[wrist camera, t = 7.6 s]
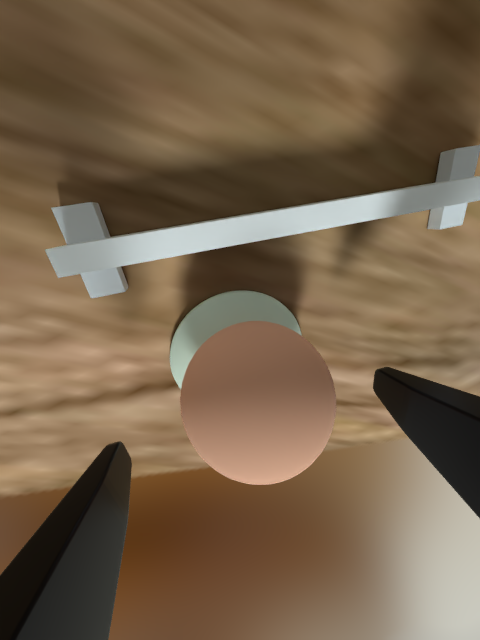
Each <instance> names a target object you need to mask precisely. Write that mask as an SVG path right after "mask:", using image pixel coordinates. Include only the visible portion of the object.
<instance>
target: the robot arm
mask: <svg viewBox="0 0 480 640" xmlns="http://www.w3.org/2000/svg"><path fill="white" fill-rule="evenodd" d="M373 389H374V392H375V393H376V395H377V396H378V398H379V399H380V400H381V402H382V403H383V404H384V406H385V407H386V409H387V410H388V411H389V413H390V414H391V415H392V417H393V418H394V419H395V421H396V422H397V424H398V425H399V426H400V427H401V429H402V430H403V431H404V432H405V434H406V435H407V436H408V437H409V438H410V439H411V441H412V442H413V443H414V444H415V445H416V446H417V447H418V449H419V450H420V451H421V452H422V453H423V454H424V455H425V456H426V458H427V459H428V460H429V461H430V462H431V463H432V465H433V466H434V467H435V468H436V469H437V470H438V471H439V473H440V474H441V475H442V476H443V477H444V478H445V479H446V480H447V482H448V483H449V484H450V485H451V486H452V487H453V488H454V489H455V491H456V492H457V493H458V494H459V495H460V496H461V498H463V500H464V501H465V502H466V503H467V504H468V506H470V508H471V509H472V510H473V511H474V512H475V513H476V515H477V516H478V517H479V518H480V397H479V396H476V395H473V394H470V393H467V392H464V391H461V390H458V389H454V388H451V387H448V386H445V385H442V384H439V383H436V382H433V381H430V380H427V379H424V378H420V377H417V376H414V375H411V374H408V373H405V372H402V371H399V370H396V369H393V368H390V367H384V368H380V369H377V370H376V371H375V375H374V383H373ZM131 467H132V463H131V458H130V456H129V454H128V452H127V450H126V448H125V446H124V444H123V443H122V442H115V443H112V444H109V445H107V446H106V447H105V448H104V449H103V450H102V451H101V453H100V454H99V455H98V456H97V458H96V459H95V460H94V461H93V462H92V464H91V465H90V466H89V467H88V469H87V470H86V471H85V472H84V473H83V475H82V476H81V477H80V478H79V480H78V481H77V482H76V483H75V484H74V486H73V487H72V488H71V489H70V491H69V492H68V493H67V494H66V495H65V497H64V498H63V499H62V500H61V502H60V503H59V504H58V505H57V507H56V508H55V509H54V510H53V511H52V513H51V514H50V515H49V516H48V517H47V519H46V520H45V521H44V523H43V524H42V525H41V526H40V527H39V528H38V530H37V531H36V532H35V533H34V535H33V536H32V537H31V538H30V540H29V541H28V542H27V543H26V545H25V546H24V547H23V548H22V549H21V551H20V552H19V553H18V554H17V555H16V557H15V558H14V559H13V560H12V561H11V563H10V564H9V565H8V566H7V568H6V569H5V570H4V571H3V572H2V574H1V575H0V640H108V638H109V631H110V625H111V620H112V614H113V608H114V601H115V595H116V589H117V583H118V577H119V571H120V565H121V559H122V553H123V547H124V541H125V535H126V529H127V522H128V512H129V511H128V510H129V497H130V496H129V495H130V482H131Z"/></svg>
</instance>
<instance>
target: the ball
mask: <svg viewBox="0 0 480 640" xmlns="http://www.w3.org/2000/svg"><path fill="white" fill-rule="evenodd" d="M180 404H181V416H182V420H183V424H184V427H185V431H186V433H187V435H188V437H189V439H190V441H191V443H192V445H193V447H194V448H195V450H196V451H197V452H198V454H199V455H200V456H201V458H202V459H203V460H204V461H205V462H206V463H207V464H209V465H210V466H211V467H212V468H213V469H215V470H216V471H217V472H219V473H221V474H222V475H224V476H226V477H228V478H230V479H233V480H236V481H239V482H243V483H247V484H256V485H263V484H274V483H278V482H282V481H285V480H287V479H290V478H292V477H294V476H296V475H297V474H299V473H301V472H302V471H304V470H305V469H306V468H307V467H309V466H310V465H311V464H312V463H313V462H314V461H315V460H316V458H317V457H318V456H319V455H320V454H321V452H322V451H323V449H324V448H325V446H326V444H327V442H328V440H329V437H330V435H331V433H332V429H333V426H334V421H335V415H336V394H335V388H334V383H333V380H332V377H331V374H330V372H329V369H328V367H327V365H326V363H325V361H324V360H323V358H322V357H321V355H320V353H319V352H318V351H317V350H316V349H315V348H314V347H313V345H312V344H311V343H310V342H309V341H307V340H306V339H305V338H304V337H302V336H301V335H300V334H298V333H297V332H295V331H293V330H291V329H289V328H287V327H285V326H282V325H280V324H276V323H271V322H266V321H247V322H241V323H237V324H234V325H231V326H228V327H226V328H224V329H222V330H220V331H219V332H217V333H215V334H214V335H212V336H211V337H210V338H208V339H207V340H206V341H205V342H204V343H203V344H202V345H201V346H200V348H199V349H198V350H197V351H196V353H195V354H194V356H193V357H192V359H191V361H190V362H189V365H188V367H187V369H186V372H185V375H184V378H183V382H182V387H181V397H180Z"/></svg>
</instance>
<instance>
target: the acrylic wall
mask: <svg viewBox="0 0 480 640" xmlns="http://www.w3.org/2000/svg"><path fill="white" fill-rule="evenodd" d="M479 152H480V145H477V146H470V147H463V148H456V149H452V150H448V151H444V152H441V155H440V160H439V166H438V172H437V177H436V183H430V184H424V185H418V186H412V187H406V188H400V189H394V190H388V191H382V192H376V193H370V194H364V195H358V196H352V197H346V198H340V199H334V200H328V201H322V202H316V203H310V204H304V205H298V206H292V207H286V208H280V209H274V210H268V211H262V212H256V213H250V214H244V215H238V216H232V217H226V218H221V219H215V220H209V221H203V222H197V223H191V224H185V225H179V226H173V227H167V228H161V229H155V230H149V231H143V232H137V233H131V234H125V235H119V236H113V237H110V234H109V232H108V229H107V226H106V223H105V221H104V218H103V215H102V212H101V210H100V207H99V204H98V203H95V202H88V203H81V204H74V205H67V206H60V207H53V208H51V209H52V211H53V213H54V216H55V218H56V220H57V222H58V225H59V227H60V229H61V231H62V234H63V236H64V238H65V240H66V243H67V245H63V246H59V247H54V248H50V249H45V251H46V253H47V256H48V258H49V260H50V262H51V264H52V266H53V268H54V270H55V272H56V274H57V276H58V278H60V277H66V276H71V275H77V274H81V277H82V279H83V281H84V283H85V286H86V288H87V290H88V293H89V295H90V297H91V298H96V297H101V296H106V295H111V294H116V293H121V292H125V291H126V290H127V289H128V288H129V287H128V284H127V281H126V279H125V276H124V273H123V270H122V268H121V266H125V265H131V264H136V263H142V262H147V261H153V260H158V259H164V258H169V257H174V256H180V255H185V254H191V253H196V252H202V251H207V250H212V249H218V248H223V247H229V246H234V245H240V244H245V243H250V242H256V241H261V240H267V239H272V238H278V237H283V236H289V235H294V234H299V233H305V232H310V231H316V230H321V229H327V228H332V227H337V226H343V225H348V224H354V223H359V222H365V221H370V220H376V219H381V218H386V217H392V216H397V215H403V214H408V213H414V212H419V211H424V210H430V209H431V211H430V216H429V222H428V228H427V229H444V228H449V227H454V226H459V225H462V224H463V220H464V216H465V212H466V207H467V203H468V202H473V201H479V200H480V176H474V173H475V169H476V165H477V161H478V157H479Z"/></svg>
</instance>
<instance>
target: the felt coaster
mask: <svg viewBox="0 0 480 640" xmlns="http://www.w3.org/2000/svg"><path fill="white" fill-rule="evenodd" d="M247 321H266V322H271V323H276V324H280V325H282V326H285V327H287V328H289V329H291V330H293V331H295V332H297V333H298V334H300V335H301V331H300V327H299V325H298V323H297V320H296V319H295V317H294V316H293V314H292V313H291V312H290V311H289V310H288V309H287V308H286V307H285V306H284V305H283V304H282V303H280V302H279V301H278V300H276V299H274V298H273V297H271V296H269V295H266V294H264V293H260V292H256V291H248V290H236V291H229V292H225V293H221V294H218V295H215V296H213V297H210V298H208V299H207V300H205V301H203V302H201V303H200V304H198V305H197V306H196V307H195V308H193V309H192V310H191V311H190V312H189V313H188V314H187V315H186V316H185V317H184V319H183V320H182V321H181V323H180V324H179V326H178V328H177V330H176V332H175V334H174V337H173V340H172V344H171V350H170V366H171V370H172V374H173V376H174V379H175V381H176V383H177V384H178V386H179V387H180V388H181V387H182V382H183V378H184V375H185V372H186V369H187V367H188V365H189V362H190V361H191V359H192V357H193V356H194V354H195V353H196V351H197V350H198V349H199V348H200V346H201V345H202V344H203V343H204V342H205V341H206V340H207V339H208V338H210V337H211V336H212V335H214V334H215V333H217V332H219V331H220V330H222V329H224V328H226V327H228V326H231V325H234V324H237V323H241V322H247Z"/></svg>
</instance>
